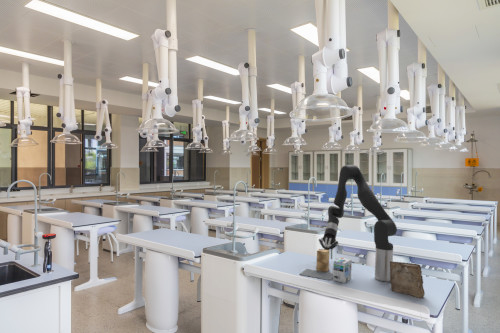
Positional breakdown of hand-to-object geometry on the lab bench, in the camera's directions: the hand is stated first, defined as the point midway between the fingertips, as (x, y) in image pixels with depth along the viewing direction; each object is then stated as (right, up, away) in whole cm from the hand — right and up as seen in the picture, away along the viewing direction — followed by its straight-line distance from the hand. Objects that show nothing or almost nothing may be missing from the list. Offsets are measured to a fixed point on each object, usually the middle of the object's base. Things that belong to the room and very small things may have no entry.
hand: (325, 253), depth 203 cm
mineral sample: (+31, -9, -40) cm, 51 cm away
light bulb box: (+4, -9, -22) cm, 24 cm away
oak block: (-3, -9, -5) cm, 11 cm away
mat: (-8, -8, -14) cm, 18 cm away
